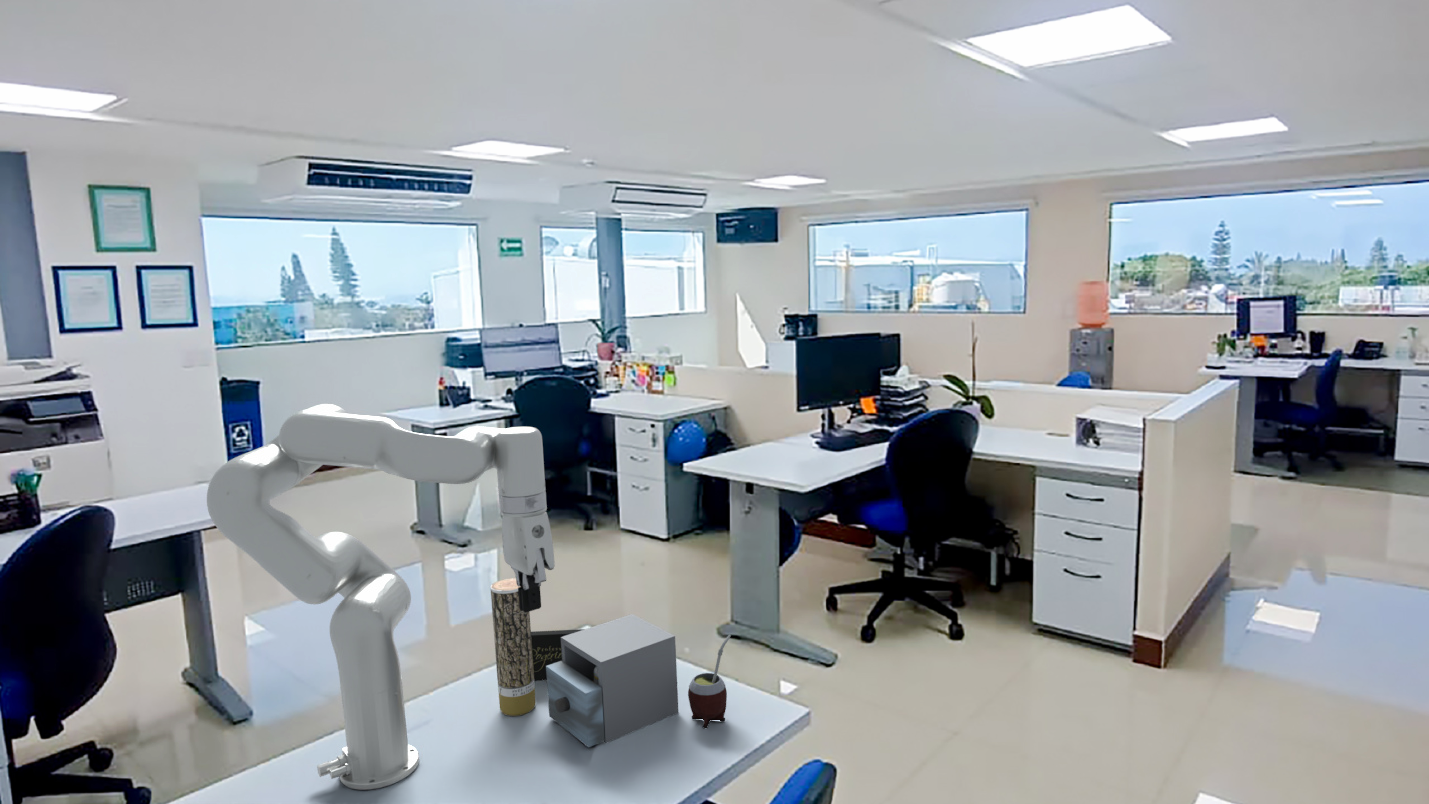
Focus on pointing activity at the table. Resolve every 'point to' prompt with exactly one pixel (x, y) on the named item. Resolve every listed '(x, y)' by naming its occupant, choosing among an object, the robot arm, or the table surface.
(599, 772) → the table surface
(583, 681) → the drawer
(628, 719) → the cabinet
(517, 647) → the brown bark cylinder
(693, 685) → the mate gourd
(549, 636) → the nameplate
